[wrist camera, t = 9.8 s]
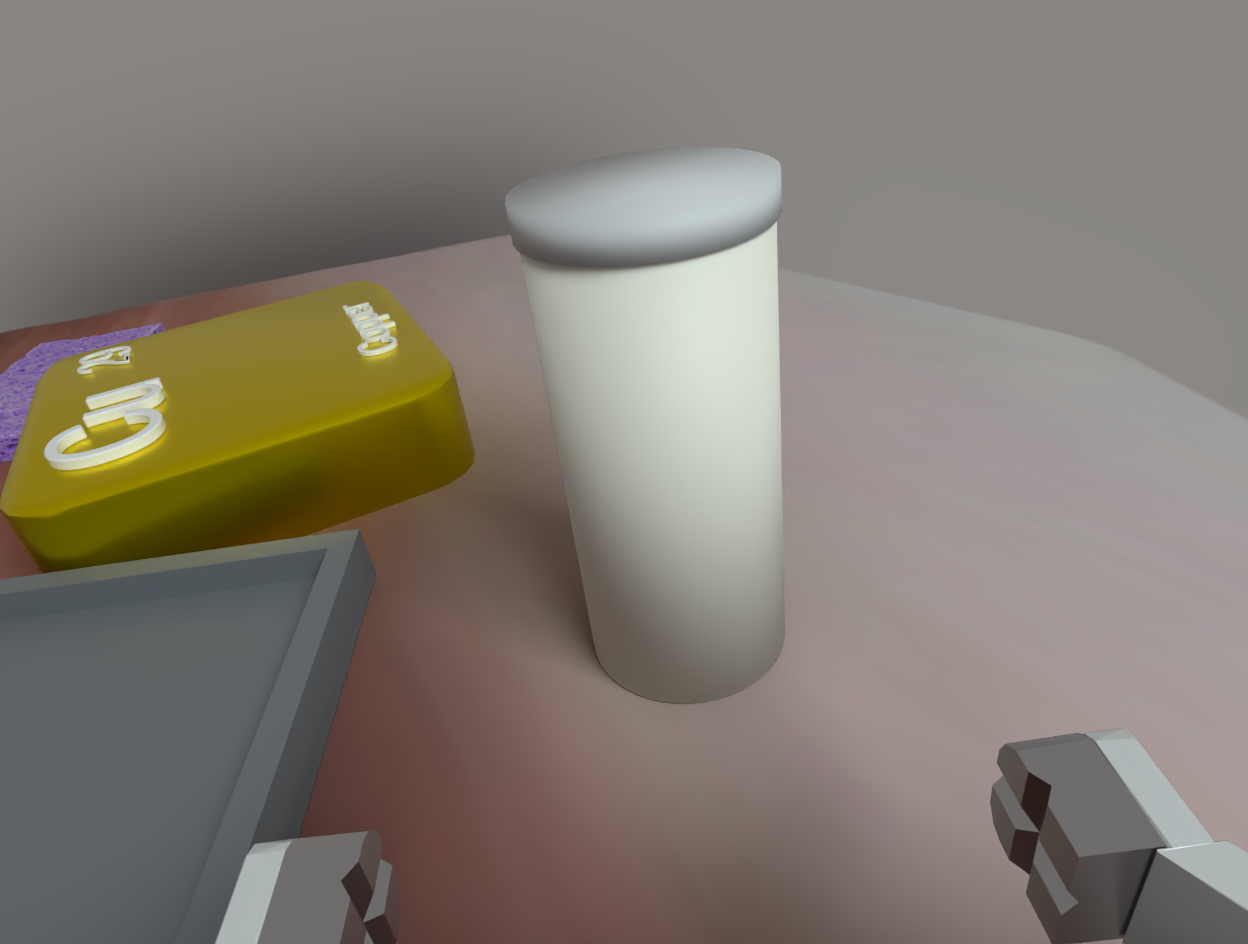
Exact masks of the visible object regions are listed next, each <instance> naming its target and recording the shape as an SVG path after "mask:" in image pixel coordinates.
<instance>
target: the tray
mask: <svg viewBox="0 0 1248 944" xmlns="http://www.w3.org/2000/svg"><path fill="white" fill-rule="evenodd" d="M375 575H376V573H375V570H374V567H373V565H372V562H371V559H370V557H369V554H368V551H367V548H366V546H365V543H364V540H363V537H362V535H361V532H360V529H354V530H347V531H340V532H333V533H326V534H319V535H312V536H305V537H298V538H291V539H284V540H277V541H270V542H263V543H255V544H248V545H241V546H234V547H227V548H220V549H213V550H206V551H199V552H192V553H185V554H178V555H171V556H164V557H157V558H150V559H142V560H135V561H128V562H121V563H114V564H107V565H100V566H93V567H86V568H79V569H72V570H65V571H58V572H51V573H44V574H37V575H29V576H22V577H15V578H8V579H1V580H0V944H215V941H216V938H217V935H218V933H219V930H220V927H221V924H222V921H223V918H224V916H225V913H226V910H227V907H228V904H229V901H230V899H231V896H232V893H233V890H234V887H235V885H236V882H237V879H238V876H239V873H240V870H241V868H242V865H243V862H244V859H245V857H246V856H247V854H248V853H249V852H250V850H251V849H252V847H253V846H254V845H255V844H257V843H265V842H272V841H280V840H287V839H295V838H297V839H298V838H299V834H300V831H301V827H302V824H303V821H304V817H305V814H306V810H307V807H308V804H309V800H310V797H311V793H312V790H313V786H314V783H315V780H316V776H317V773H318V769H319V766H320V763H321V759H322V756H323V752H324V749H325V745H326V742H327V739H328V735H329V732H330V728H331V725H332V722H333V718H334V715H335V711H336V708H337V704H338V701H339V698H340V694H341V691H342V687H343V684H344V681H345V677H346V674H347V670H348V667H349V663H350V660H351V657H352V653H353V650H354V646H355V643H356V640H357V636H358V633H359V629H360V626H361V623H362V619H363V616H364V612H365V609H366V605H367V602H368V599H369V595H370V592H371V588H372V585H373V582H374V578H375Z"/></svg>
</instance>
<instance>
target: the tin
mask: <svg viewBox="0 0 1248 944" xmlns="http://www.w3.org/2000/svg"><path fill="white" fill-rule="evenodd" d="M781 202H782V201H781V166H780V164H779V162H778V161H777V160H776V159H774V158H772V157H771V156H768V155H766V154H763V153H759V152H754V151H750V150H743V149H735V148H722V147H683V148H667V149H655V150H646V151H638V152H630V153H623V154H617V155H611V156H606V157H600V158H595V159H591V160H587V161H582V162H578V163H574V164H570V165H567V166H563V167H560V168H556V169H553V170H551V171H547V172H544V173H542V174H540V175H537V176H534V177H532V178H530V179H528V180H526V181H524V182H522V183H521V184H519V185H517V186H516V187H514V188H513V189H512V190H511V191H510V192H509V193H508V194H507V195H506V198H505V205H506V210H507V215H508V220H509V225H510V231H511V236H512V241H513V245H514V247H515V248H516V250H517V251H519V252H520V256H521V262H522V267H523V272H524V277H525V283H526V288H527V293H528V298H529V304H530V309H531V314H532V320H533V325H534V330H535V335H536V341H537V346H538V351H539V356H540V362H541V367H542V372H543V377H544V383H545V388H546V393H547V399H548V404H549V409H550V414H551V420H552V425H553V430H554V435H555V441H556V446H557V451H558V457H559V462H560V467H561V472H562V478H563V483H564V488H565V493H566V499H567V504H568V509H569V514H570V520H571V525H572V530H573V536H574V541H575V546H576V551H577V557H578V562H579V567H580V572H581V578H582V583H583V588H584V594H585V599H586V604H587V609H588V615H589V620H590V625H591V630H592V636H593V641H594V646H595V651H596V655H597V657H598V660H599V662H600V664H601V665H602V667H603V669H604V670H605V671H606V673H607V674H608V675H609V676H610V677H611V678H612V679H613V680H614V681H615V682H617V683H618V684H619V685H621V686H622V687H624V688H625V689H627V690H629V691H631V692H633V693H635V694H637V695H639V696H642V697H645V698H648V699H652V700H656V701H661V702H668V703H682V704H690V703H701V702H707V701H712V700H717V699H721V698H724V697H727V696H730V695H732V694H735V693H737V692H739V691H742V690H743V689H745V688H747V687H749V686H750V685H752V684H753V683H755V682H756V681H757V680H759V679H760V678H761V677H763V676H764V675H765V674H766V673H767V672H768V671H769V670H770V668H771V667H772V666H773V664H774V663H775V662H776V660H777V658H778V657H779V655H780V653H781V650H782V647H783V644H784V637H785V612H784V563H783V513H782V463H781V413H780V364H779V314H778V264H777V220H778V219H779V217H780V215H781V212H782V205H781Z"/></svg>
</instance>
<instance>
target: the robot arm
mask: <svg viewBox="0 0 1248 944" xmlns="http://www.w3.org/2000/svg"><path fill="white" fill-rule="evenodd" d="M997 764H998V766H999V768H1000V769H1001V771H1002V773H1003V776H1002V777H1001V778H1000V779H999V780H998V781H997V782H995V783H994V784H993V786H992V793H991V801H990V804H991V810H992V817H993V823H994V826H995V829H996V832H997V834H998V837H999V840H1000V842H1001V844H1002V846H1003V849H1004V851H1005V853H1006V855H1007V857H1008V859H1009V860H1010V861H1011V862H1013V863H1014V864H1016V865H1017V866H1018V867H1020V868H1021V869H1022V870H1024V871H1025V872H1027V873H1028V874H1029V880H1028V886H1027V891H1026V894H1027V896H1028V898H1029V900H1030V902H1031V904H1032V906H1033V908H1034V910H1035V912H1036V914H1037V916H1038V918H1039V920H1040V922H1041V924H1042V926H1043V927H1044V929H1045V931H1046V933H1047V935H1048V937H1049V939H1050V941H1051V943H1052V944H1074V943H1083V942H1093V941H1102V940H1112V939H1121V938H1124V939H1123V943H1124V944H1248V853H1247V852H1245V851H1243V850H1242V849H1240V848H1238V847H1237V846H1235V845H1233V844H1232V843H1230V842H1228V841H1227V840H1226V841H1215V842H1214V841H1213V839H1212V838H1211V837H1210V835H1209V834H1208V833H1207V831H1206V830H1205V829H1204V827H1203V826H1202V825H1201V823H1200V822H1199V821H1198V820H1197V818H1196V817H1195V816H1194V814H1193V813H1192V812H1191V810H1190V809H1189V808H1188V806H1187V805H1186V804H1185V802H1184V801H1183V800H1182V798H1181V797H1180V796H1179V795H1178V793H1177V792H1176V791H1175V789H1174V788H1173V787H1172V785H1171V784H1170V783H1169V781H1168V780H1167V779H1166V777H1165V776H1164V775H1163V774H1162V772H1161V771H1160V770H1159V768H1158V767H1157V766H1156V764H1155V763H1154V762H1153V760H1152V759H1151V758H1150V756H1149V755H1148V754H1147V753H1146V751H1145V750H1144V749H1143V747H1142V746H1141V745H1140V743H1139V742H1138V741H1137V739H1136V738H1135V737H1134V735H1133V734H1131V733H1130V732H1128V731H1127V730H1125V729H1124V728H1116V729H1109V730H1103V731H1096V732H1090V733H1084V734H1080V733H1074V734H1067V735H1060V736H1054V737H1047V738H1040V739H1034V740H1027V741H1020V742H1014V743H1007V744H1005V745H1004V746H1003V747H1002V748H1001V749H1000V750H999V755H998V759H997ZM382 848H383V844H382V842H381V840H380V838H379V836H378V834H377V832H376V830H367V831H358V832H350V833H341V834H332V835H324V836H315V837H306V838H298V839H297V838H295V839H287V840H280V841H272V842H265V843H257V844H255V845H254V846H253V847H252V849H251V850H250V852H249V853H248V854H247V856H246V857H245V859H244V862H243V865H242V868H241V870H240V873H239V876H238V879H237V882H236V885H235V887H234V890H233V893H232V896H231V899H230V901H229V904H228V907H227V910H226V913H225V916H224V918H223V921H222V924H221V927H220V930H219V933H218V935H217V938H216V941H215V944H395V943H396V942H397V937H398V930H399V923H400V890H399V884H398V879H397V876H396V873H395V871H394V869H393V866H392V865H390V864H388V863H387V862H385V861H383V860H381V859H380V858H381V853H382Z"/></svg>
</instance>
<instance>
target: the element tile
mask: <svg viewBox="0 0 1248 944" xmlns="http://www.w3.org/2000/svg"><path fill="white" fill-rule="evenodd" d="M474 457H475V451H474V447H473V443H472V439H471V435H470V431H469V427H468V423H467V420H466V416H465V412H464V408H463V404H462V400H461V396H460V392H459V388H458V385H457V381H456V377H455V373H454V370H453V367H452V365H451V363H450V362H449V361H448V360H447V359H446V357H445V356H444V355H443V354H442V353H441V351H440V350H439V349H438V348H437V347H436V346H435V344H434V343H433V342H432V341H431V340H430V339H429V337H428V336H427V335H426V334H425V333H424V332H423V330H422V329H421V328H420V327H419V326H418V325H417V323H416V322H415V321H414V320H413V319H412V317H411V316H410V315H409V314H408V313H407V312H406V310H405V309H404V308H403V307H402V306H401V305H400V303H399V302H398V301H397V300H396V299H395V298H394V296H393V295H392V294H391V293H390V292H389V291H388V289H386V288H384V287H383V286H380V285H377V284H374V283H370V282H367V281H358V282H352V283H347V284H343V285H339V286H336V287H332V288H328V289H324V290H320V291H316V292H313V293H309V294H305V295H301V296H297V297H293V298H290V299H286V300H282V301H278V302H274V303H271V304H267V305H263V306H259V307H255V308H251V309H248V310H244V311H240V312H236V313H232V314H229V315H225V316H221V317H217V318H213V319H209V320H206V321H202V322H198V323H194V324H190V325H187V326H183V327H179V328H175V329H171V330H167V331H164V332H160V333H156V334H152V335H148V336H145V337H141V338H137V339H133V340H129V341H125V342H122V343H118V344H114V345H110V346H106V347H103V348H99V349H95V350H91V351H87V352H83V353H80V354H77V355H73V356H70V357H67V358H64V359H61V360H59V361H57V362H56V363H54V364H53V365H52V366H51V367H50V368H49V369H48V370H47V371H46V372H45V374H44V375H43V376H42V377H41V379H40V380H39V381H38V383H37V385H36V388H35V391H34V395H33V398H32V401H31V404H30V407H29V410H28V413H27V417H26V420H25V423H24V426H23V429H22V432H21V435H20V438H19V442H18V445H17V448H16V451H15V454H14V457H13V460H12V464H11V467H10V470H9V473H8V476H7V479H6V482H5V486H4V489H3V492H2V495H1V498H0V509H1V513H2V514H3V516H4V517H5V519H6V521H7V522H8V524H9V525H10V527H11V528H12V530H13V531H14V533H15V534H16V536H17V538H18V539H19V541H20V542H21V544H22V545H23V547H24V548H25V550H26V551H27V553H28V555H29V556H30V558H31V559H32V561H33V562H34V564H35V565H36V567H37V568H38V570H39V572H40V573H41V574H44V573H51V572H58V571H65V570H72V569H79V568H86V567H93V566H100V565H107V564H114V563H121V562H128V561H135V560H142V559H150V558H157V557H164V556H171V555H178V554H185V553H192V552H199V551H206V550H213V549H220V548H227V547H234V546H241V545H248V544H255V543H263V542H270V541H277V540H284V539H291V538H298V537H304V536H306V535H309V534H312V533H315V532H318V531H320V530H323V529H326V528H329V527H332V526H335V525H337V524H340V523H343V522H346V521H349V520H351V519H354V518H357V517H360V516H363V515H366V514H368V513H371V512H374V511H377V510H380V509H382V508H385V507H388V506H391V505H394V504H397V503H399V502H402V501H405V500H408V499H411V498H413V497H416V496H419V495H422V494H425V493H427V492H430V491H433V490H436V489H438V488H440V487H442V486H445V485H447V484H449V483H451V482H452V481H454V480H456V479H457V478H459V477H460V476H462V475H463V474H465V473H466V472H467V471H468V469H469V468H470V467H471V466H472V465H473V463H474Z"/></svg>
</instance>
